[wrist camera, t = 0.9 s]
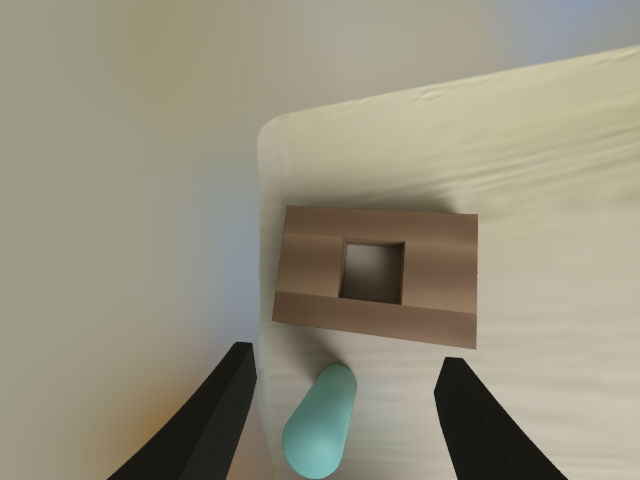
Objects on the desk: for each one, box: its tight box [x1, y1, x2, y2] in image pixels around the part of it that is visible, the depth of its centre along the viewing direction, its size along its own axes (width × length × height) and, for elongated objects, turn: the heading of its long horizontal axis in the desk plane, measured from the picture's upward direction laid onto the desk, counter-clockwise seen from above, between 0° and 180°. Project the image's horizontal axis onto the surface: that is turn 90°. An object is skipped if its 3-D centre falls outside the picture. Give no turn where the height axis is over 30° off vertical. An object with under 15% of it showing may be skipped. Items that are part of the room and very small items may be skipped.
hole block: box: [272, 206, 478, 350], centre depth 22 cm, size 9×14×3 cm, turn 84°
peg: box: [282, 364, 357, 479], centre depth 18 cm, size 3×3×9 cm
